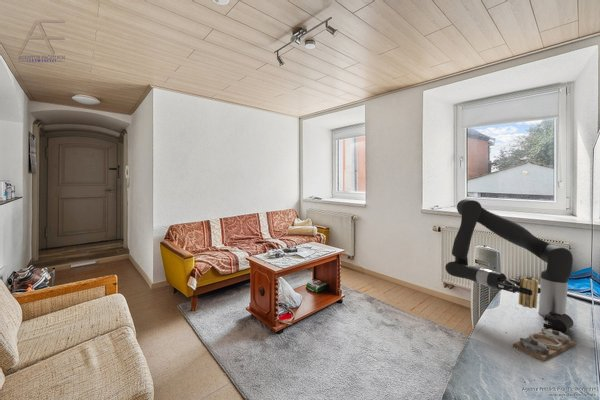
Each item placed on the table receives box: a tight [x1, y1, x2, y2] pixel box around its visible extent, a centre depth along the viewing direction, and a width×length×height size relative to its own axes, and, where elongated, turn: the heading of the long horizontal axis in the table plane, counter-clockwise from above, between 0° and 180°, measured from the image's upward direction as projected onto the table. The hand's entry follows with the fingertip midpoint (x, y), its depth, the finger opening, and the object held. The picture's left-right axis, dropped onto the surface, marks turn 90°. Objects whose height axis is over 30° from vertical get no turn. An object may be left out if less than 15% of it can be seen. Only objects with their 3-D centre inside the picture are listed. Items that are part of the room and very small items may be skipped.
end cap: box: [543, 312, 574, 334], centre depth 111 cm, size 10×7×7 cm
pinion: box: [518, 275, 539, 309], centre depth 108 cm, size 6×6×12 cm
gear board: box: [512, 328, 577, 362], centre depth 100 cm, size 25×9×4 cm, turn 116°
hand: (535, 292), depth 106 cm, fingers closed on pinion, 5 cm apart
